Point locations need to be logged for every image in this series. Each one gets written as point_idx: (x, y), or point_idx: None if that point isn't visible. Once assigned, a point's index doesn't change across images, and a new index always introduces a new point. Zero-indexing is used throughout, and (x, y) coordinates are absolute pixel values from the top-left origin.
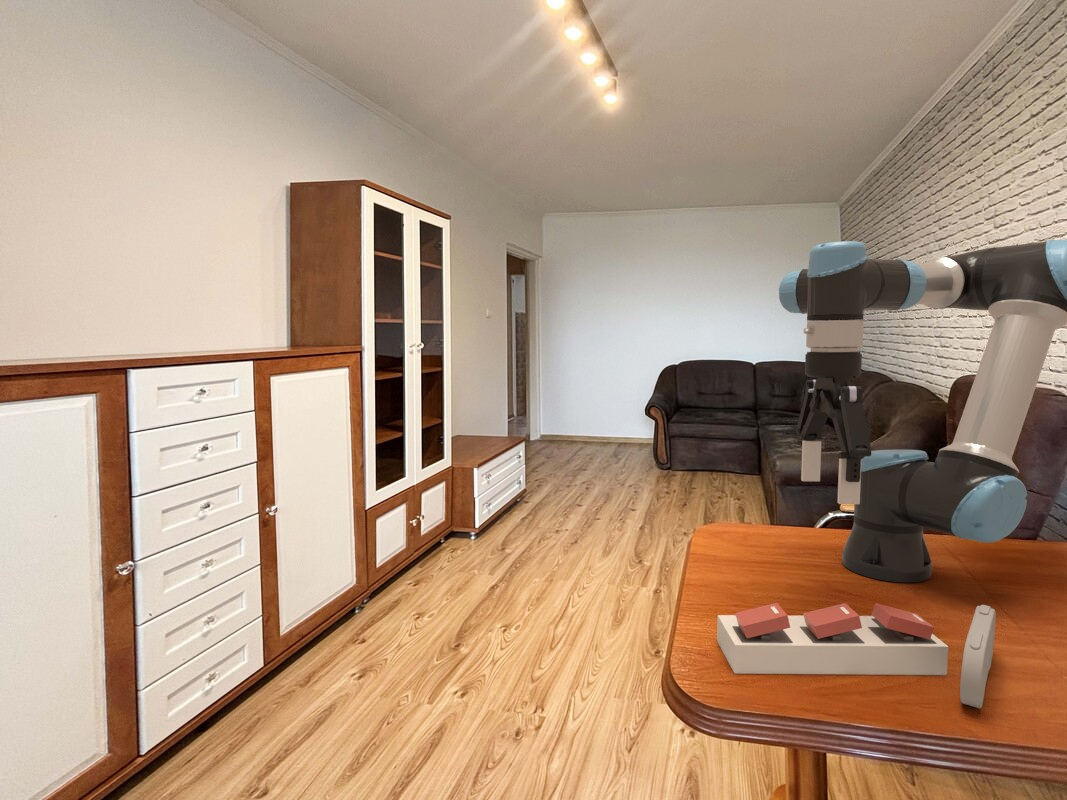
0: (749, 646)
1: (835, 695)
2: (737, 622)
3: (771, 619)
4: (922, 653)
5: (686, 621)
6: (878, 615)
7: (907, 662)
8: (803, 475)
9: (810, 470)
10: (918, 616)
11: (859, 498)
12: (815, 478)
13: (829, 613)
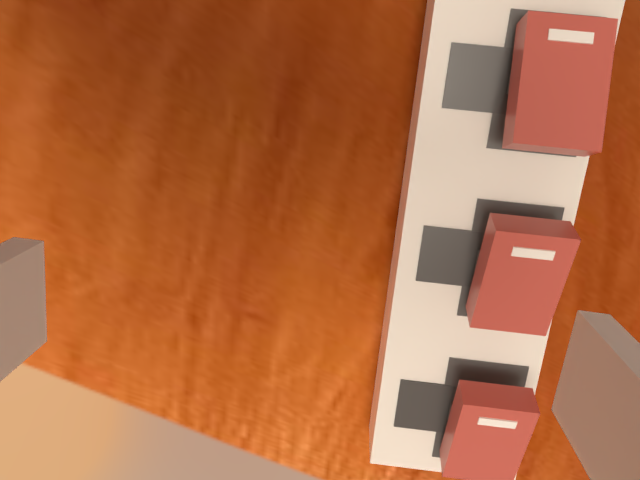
0: None
1: (611, 297)
2: (412, 437)
3: (528, 440)
4: None
5: (274, 451)
6: (537, 149)
7: None
8: (27, 357)
9: (3, 330)
10: (551, 22)
11: (625, 332)
12: (34, 275)
13: (516, 285)
